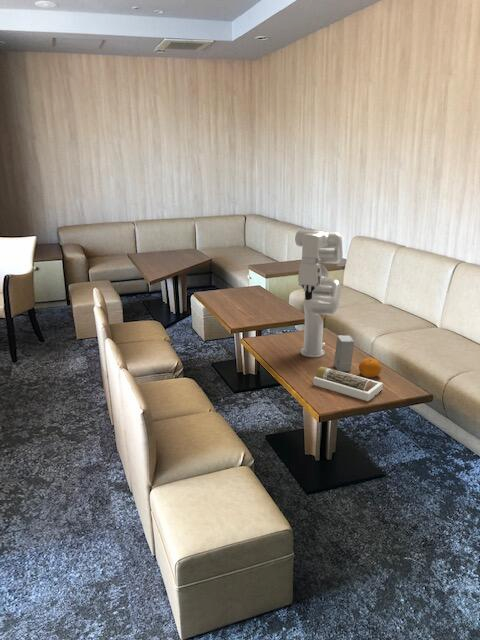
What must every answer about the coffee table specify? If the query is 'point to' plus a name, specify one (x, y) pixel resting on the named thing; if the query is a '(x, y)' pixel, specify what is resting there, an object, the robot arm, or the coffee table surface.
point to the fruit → (370, 367)
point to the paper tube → (344, 378)
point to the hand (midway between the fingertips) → (308, 299)
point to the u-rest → (349, 388)
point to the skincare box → (343, 353)
